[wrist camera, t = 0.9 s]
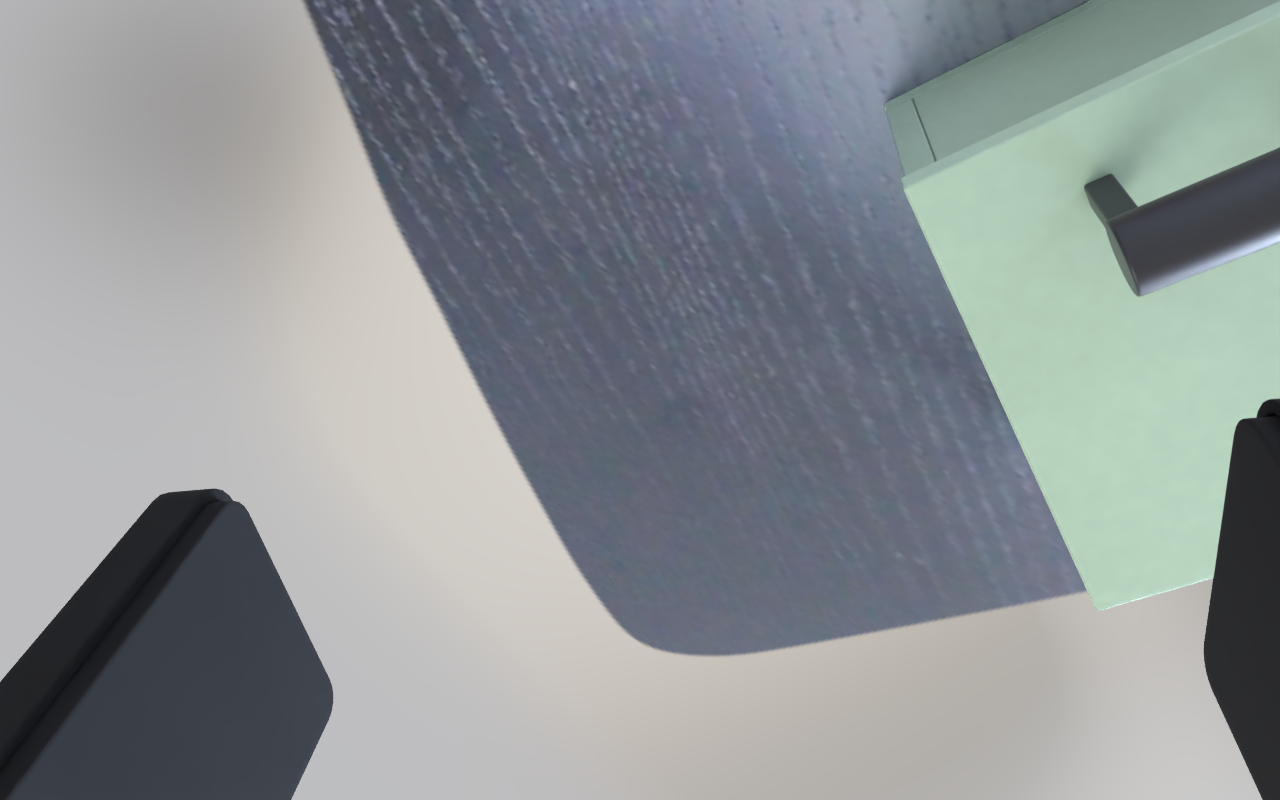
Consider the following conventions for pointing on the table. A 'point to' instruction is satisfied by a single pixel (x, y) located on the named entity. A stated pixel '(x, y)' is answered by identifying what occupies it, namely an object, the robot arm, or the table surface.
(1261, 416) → the robot arm
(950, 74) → the green hinged box
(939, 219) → the lid
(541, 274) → the table surface
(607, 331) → the table surface
